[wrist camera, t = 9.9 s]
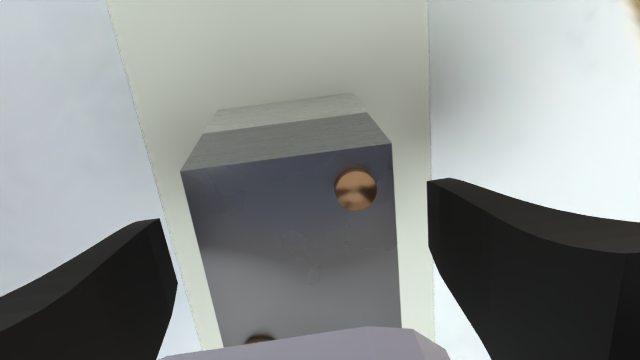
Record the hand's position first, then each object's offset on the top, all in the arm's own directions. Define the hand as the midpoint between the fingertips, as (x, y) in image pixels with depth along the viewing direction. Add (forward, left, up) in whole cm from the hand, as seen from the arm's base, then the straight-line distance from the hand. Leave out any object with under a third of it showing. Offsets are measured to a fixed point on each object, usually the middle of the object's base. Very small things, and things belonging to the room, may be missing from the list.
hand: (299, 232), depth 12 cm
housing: (0, 0, -5) cm, 5 cm away
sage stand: (0, 0, -7) cm, 7 cm away
